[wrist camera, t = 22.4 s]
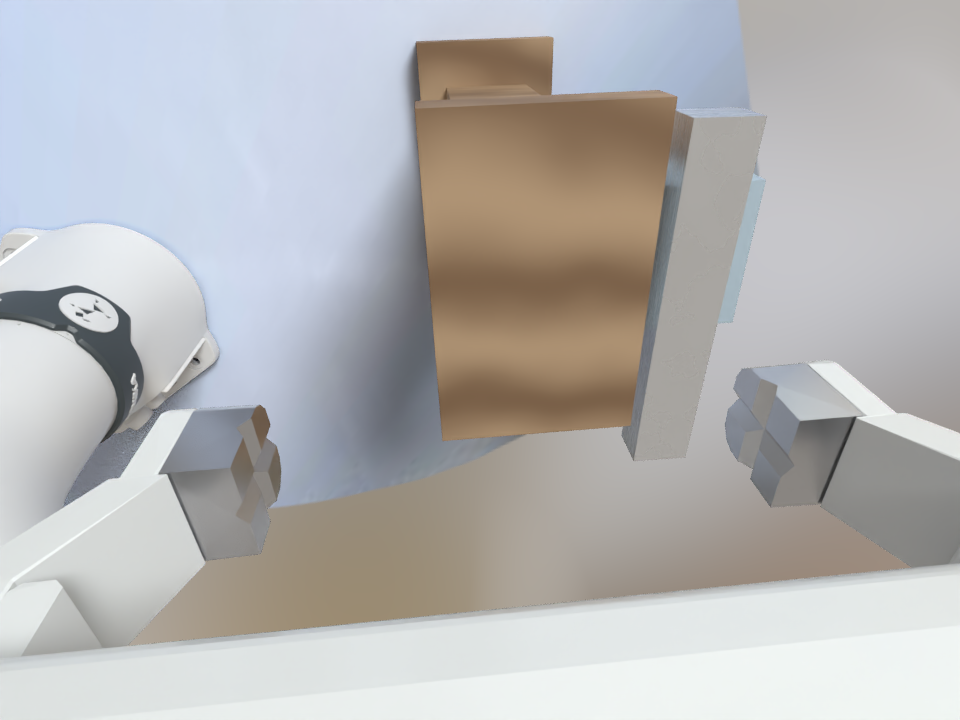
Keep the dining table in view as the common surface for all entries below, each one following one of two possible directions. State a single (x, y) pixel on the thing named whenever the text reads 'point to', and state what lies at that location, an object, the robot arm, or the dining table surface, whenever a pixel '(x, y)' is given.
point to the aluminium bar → (690, 271)
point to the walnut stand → (535, 237)
